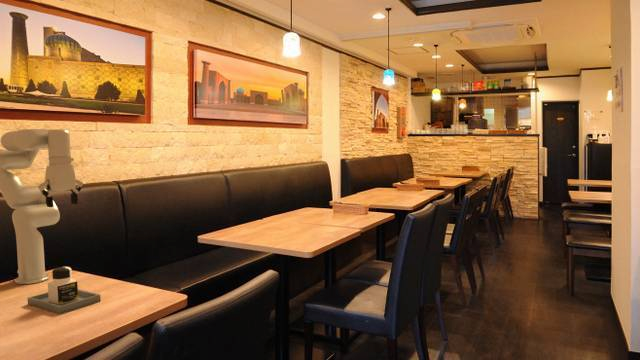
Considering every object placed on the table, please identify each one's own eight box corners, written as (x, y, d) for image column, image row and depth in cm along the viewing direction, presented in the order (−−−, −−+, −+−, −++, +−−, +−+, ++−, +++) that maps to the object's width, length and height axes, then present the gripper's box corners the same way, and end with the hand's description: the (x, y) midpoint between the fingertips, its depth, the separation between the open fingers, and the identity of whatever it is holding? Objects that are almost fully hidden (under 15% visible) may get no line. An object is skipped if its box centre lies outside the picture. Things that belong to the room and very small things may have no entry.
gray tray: (27, 304, 170) (27, 297, 169) (68, 292, 182) (68, 286, 182) (60, 314, 159) (59, 307, 159) (100, 301, 172) (100, 294, 172)
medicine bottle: (58, 305, 166) (56, 271, 165) (48, 301, 170) (46, 268, 169) (78, 299, 172) (76, 267, 171) (68, 296, 176) (66, 264, 175)
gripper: (75, 160, 193) (77, 202, 194) (31, 162, 178) (34, 207, 179) (86, 160, 189) (89, 203, 190) (42, 162, 174) (45, 208, 175)
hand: (62, 205), depth 185 cm, fingers open, 9 cm apart
